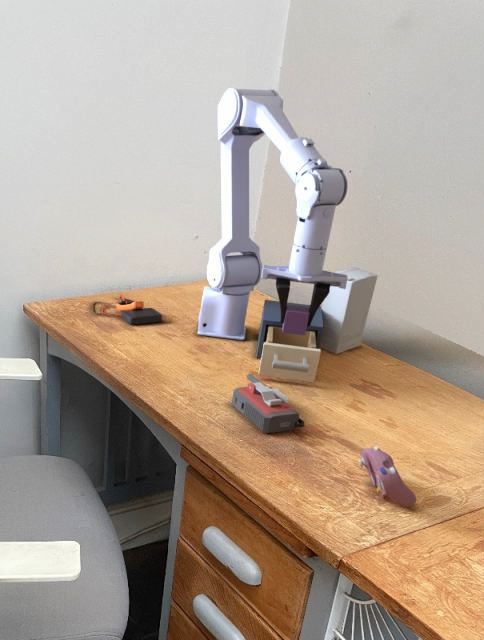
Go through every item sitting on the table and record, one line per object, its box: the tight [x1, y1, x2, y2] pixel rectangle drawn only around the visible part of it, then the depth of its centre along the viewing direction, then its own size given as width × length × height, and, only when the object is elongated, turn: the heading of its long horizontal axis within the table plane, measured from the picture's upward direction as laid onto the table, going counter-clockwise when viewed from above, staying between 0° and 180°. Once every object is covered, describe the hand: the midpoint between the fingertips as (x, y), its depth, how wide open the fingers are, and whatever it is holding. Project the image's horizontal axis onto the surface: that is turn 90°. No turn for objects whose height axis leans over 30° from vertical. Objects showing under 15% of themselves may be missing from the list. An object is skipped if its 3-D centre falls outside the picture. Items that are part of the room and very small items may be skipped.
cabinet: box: [255, 299, 323, 360], centre depth 151 cm, size 13×11×8 cm
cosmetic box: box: [319, 266, 379, 355], centre depth 153 cm, size 8×6×15 cm
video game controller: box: [358, 445, 417, 508], centre depth 108 cm, size 10×5×7 cm, turn 5°
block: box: [282, 304, 309, 336], centre depth 139 cm, size 4×4×4 cm
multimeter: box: [92, 294, 163, 325], centre depth 166 cm, size 18×12×3 cm, turn 21°
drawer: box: [257, 325, 322, 383], centre depth 140 cm, size 16×10×6 cm, turn 169°
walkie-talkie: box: [231, 373, 306, 434], centre depth 129 cm, size 9×4×20 cm
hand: (294, 322), depth 140 cm, fingers closed on block, 4 cm apart
